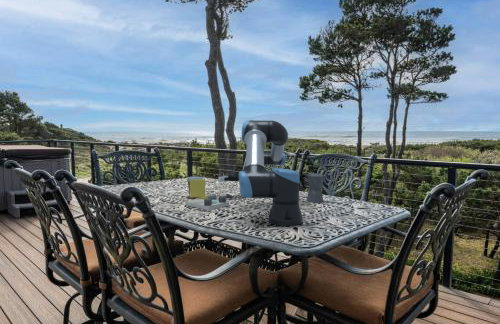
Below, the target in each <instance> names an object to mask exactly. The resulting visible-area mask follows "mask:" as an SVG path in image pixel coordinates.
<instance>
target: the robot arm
mask: <svg viewBox="0 0 500 324" xmlns="http://www.w3.org/2000/svg"><path fill="white" fill-rule="evenodd" d="M288 139H289V133H288V130H287V128H286V127H285V126H284V124H282V123H281V122H279V121H276V120H252V119H250V120H245V121H244V122H243V124H242V127H241V141H242V142H243V143H245V145H246V153H245V155H246V156H245V167H243V169H241V170H240V171H239V172H238V173H234V174H233V173H230V174H225V175H223V176H218V178H217V179H218V181H217V182H219V183H223V182H228V181H229V182H235V181H238V185H239V193H240V196H241V197H242V198H245V199H246V198H247V199H272V205H271V208H270V210H269V213H268V222H269V224H271V225H272V224H273V225H276V226H284V227H285V226H286V227H287V226H289V227H290V226H299V225H302V224H303V223H304V220H303V219H304V216H303V214H302V210H301V207H300V183H301V180H300V174H299V172H298V171H295V170H292V169H288V168H280V167H279V168H278V167H274V168H272V171H267V168H266V167H265V166H284V165H286V154H285V153H284V151H285V147H286V144H287V143H288ZM267 143H271V149H270V153H269V152H264V151H265V148H264V146H265V145H266V144H267Z"/></svg>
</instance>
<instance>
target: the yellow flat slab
mask: <svg viewBox="0 0 500 324" xmlns="http://www.w3.org/2000/svg"><path fill="white" fill-rule="evenodd" d="M190 197H200V198H199V199H201V200H202V199H212V200H218V199H217V194H207V195H206V179H205V178H204V179H203V178H202V179H198V180H190V195H189V198H190Z"/></svg>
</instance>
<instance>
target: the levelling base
mask: <svg viewBox="0 0 500 324" xmlns="http://www.w3.org/2000/svg"><path fill="white" fill-rule="evenodd" d="M184 203H185V204H184V205H185V206H186V207H187V206H188V207H192V208H196V209H201V210H206V211H211V210H216V209H220V208H223V207H224V208H225V207H229V206H230V201H227V196H226V195H219V196H218V199H217V200H212V199H202V200H201V199H200V198H196V199H192V200H187V201H185V202H184Z"/></svg>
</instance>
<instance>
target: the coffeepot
mask: <svg viewBox="0 0 500 324" xmlns="http://www.w3.org/2000/svg"><path fill="white" fill-rule="evenodd" d="M304 178H307V183H308V184H307V185H308V187H309V189H308V191H307V197H306V202H307V203H311V204H322V203H323V202H324V197H323V191H322V188H323V186H324V182H325V180H326V179H327V178H328V176H327V175H324V174H320V173H318V170H316V169H315V170H314V173H311V174H307V173H302V174H301V175H299V181H300V183H301V187H302V188H303V189H307V188H308V187H307V186H305V182H304Z"/></svg>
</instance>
